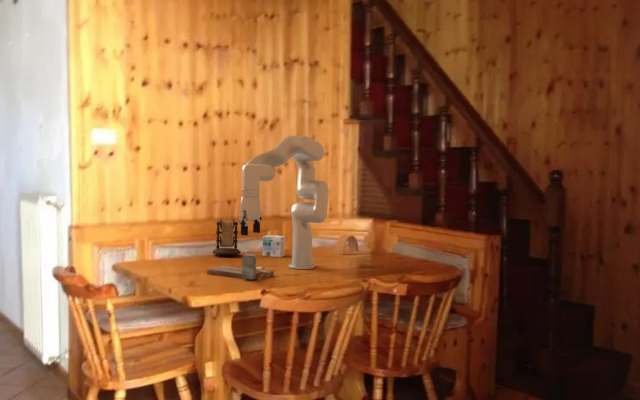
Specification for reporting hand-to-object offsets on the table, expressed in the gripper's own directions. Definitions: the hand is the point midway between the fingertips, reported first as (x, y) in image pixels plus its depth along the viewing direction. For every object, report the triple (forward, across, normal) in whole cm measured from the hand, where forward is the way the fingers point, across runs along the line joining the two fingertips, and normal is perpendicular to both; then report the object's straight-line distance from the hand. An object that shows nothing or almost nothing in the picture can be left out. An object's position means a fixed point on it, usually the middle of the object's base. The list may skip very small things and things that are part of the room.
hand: (250, 233), depth 284 cm
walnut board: (+20, -8, -10) cm, 24 cm away
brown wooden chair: (+21, -52, -47) cm, 73 cm away
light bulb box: (+22, -67, -27) cm, 75 cm away
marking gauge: (+19, -4, 0) cm, 19 cm away
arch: (+23, -103, 0) cm, 105 cm away
